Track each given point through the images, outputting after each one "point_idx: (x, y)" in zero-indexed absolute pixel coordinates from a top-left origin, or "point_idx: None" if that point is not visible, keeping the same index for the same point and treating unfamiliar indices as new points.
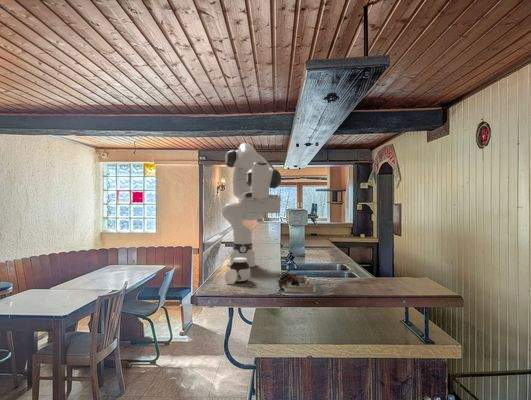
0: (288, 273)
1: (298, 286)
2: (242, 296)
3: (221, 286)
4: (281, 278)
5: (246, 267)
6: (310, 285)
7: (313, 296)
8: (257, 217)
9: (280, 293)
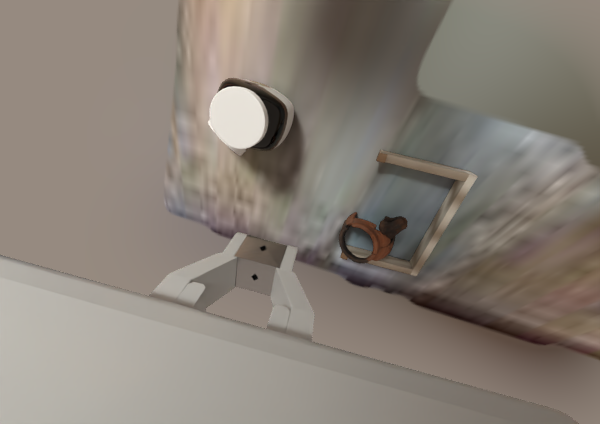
0: (374, 244)
1: (375, 264)
2: None
3: (211, 155)
4: (355, 226)
5: (266, 150)
6: (421, 248)
7: (385, 288)
8: (220, 296)
9: (331, 251)
